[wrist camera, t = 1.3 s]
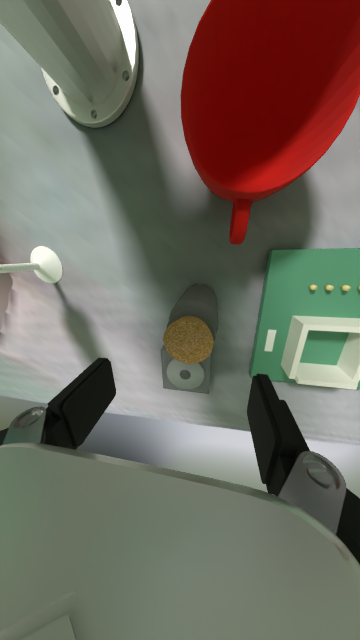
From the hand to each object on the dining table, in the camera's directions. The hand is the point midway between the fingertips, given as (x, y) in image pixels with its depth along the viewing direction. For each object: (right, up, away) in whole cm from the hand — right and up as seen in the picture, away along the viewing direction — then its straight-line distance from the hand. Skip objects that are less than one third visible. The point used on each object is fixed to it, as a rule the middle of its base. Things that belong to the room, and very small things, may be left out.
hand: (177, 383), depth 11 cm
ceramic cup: (+8, +23, +12) cm, 27 cm away
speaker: (+2, -5, +24) cm, 24 cm away
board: (+22, +4, +16) cm, 28 cm away
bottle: (+4, +7, +19) cm, 20 cm away
